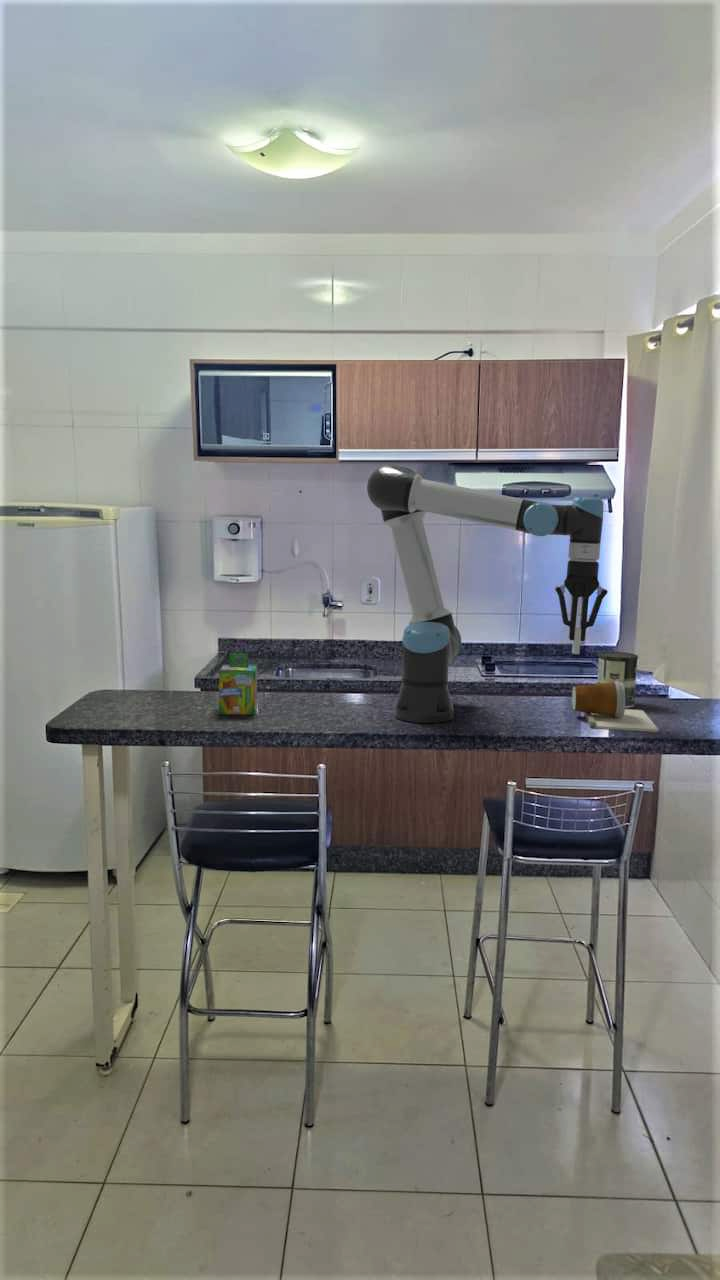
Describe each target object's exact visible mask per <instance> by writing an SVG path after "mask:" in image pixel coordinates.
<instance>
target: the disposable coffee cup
mask: <svg viewBox="0 0 720 1280" xmlns="http://www.w3.org/2000/svg"><path fill="white" fill-rule="evenodd" d="M571 697H572V698H571V700H572V701H571V703H572V710H573V711H574V712H580V713H583V712H587V713H594V714H601V715H609V716H613V717H616V718H618V717H620V716H623V715H624V712H625V709H626V708H625V688H624V684H623V683H622V682H618V681H615V682H612V683H602V684H597V683H594V684H586V685H585V684H584V685H583V684H582V685H573V687H572V694H571Z"/></svg>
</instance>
